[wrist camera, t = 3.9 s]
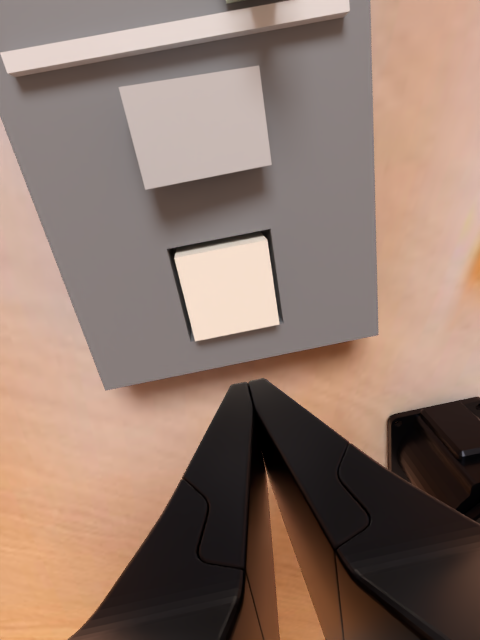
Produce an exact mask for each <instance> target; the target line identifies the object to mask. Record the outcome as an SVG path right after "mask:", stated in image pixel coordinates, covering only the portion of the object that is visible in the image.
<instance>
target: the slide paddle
mask: <svg viewBox="0 0 480 640" xmlns="http://www.w3.org/2000/svg"><path fill="white" fill-rule="evenodd" d="M239 1H245V0H226V4H228V3H234V2H239Z"/></svg>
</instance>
